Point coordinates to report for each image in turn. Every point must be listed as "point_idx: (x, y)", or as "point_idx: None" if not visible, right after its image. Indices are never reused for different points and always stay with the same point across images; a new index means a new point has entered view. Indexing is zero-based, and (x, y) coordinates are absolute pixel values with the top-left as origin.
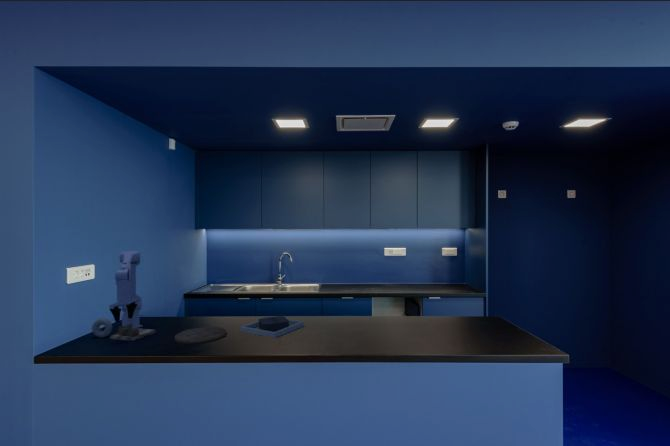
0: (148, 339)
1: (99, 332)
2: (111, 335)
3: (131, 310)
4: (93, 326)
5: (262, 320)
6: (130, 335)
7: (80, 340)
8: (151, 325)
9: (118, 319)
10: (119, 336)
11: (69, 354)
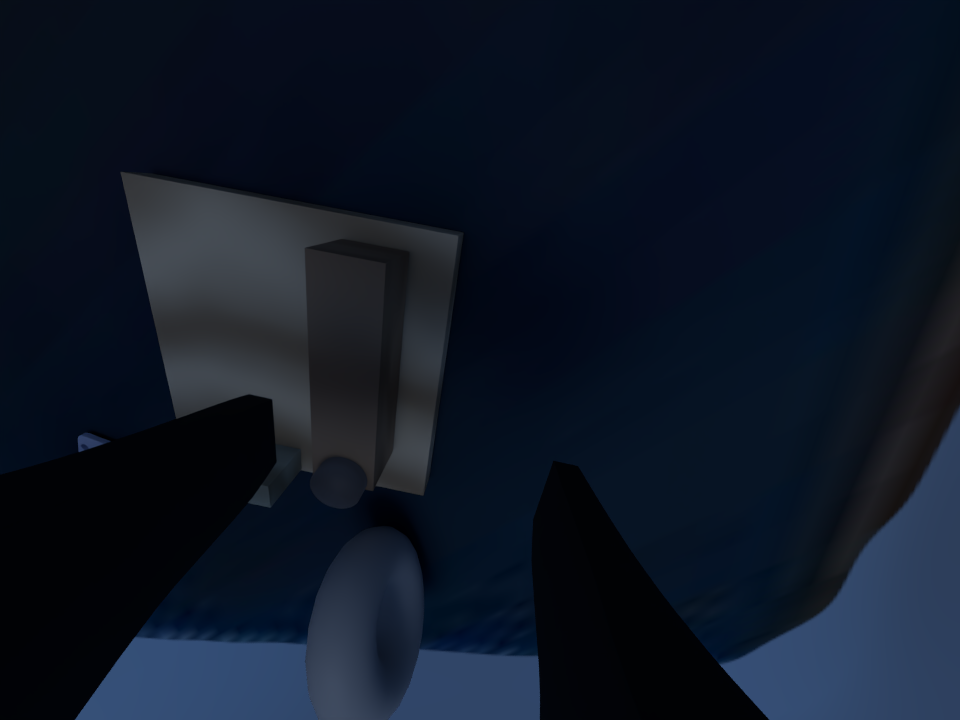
0: (384, 57)
1: (408, 590)
2: (410, 490)
3: (81, 541)
4: (411, 676)
5: None
6: (403, 307)
7: (484, 618)
8: (26, 382)
9: (601, 505)
10: (426, 411)
11: (819, 522)
